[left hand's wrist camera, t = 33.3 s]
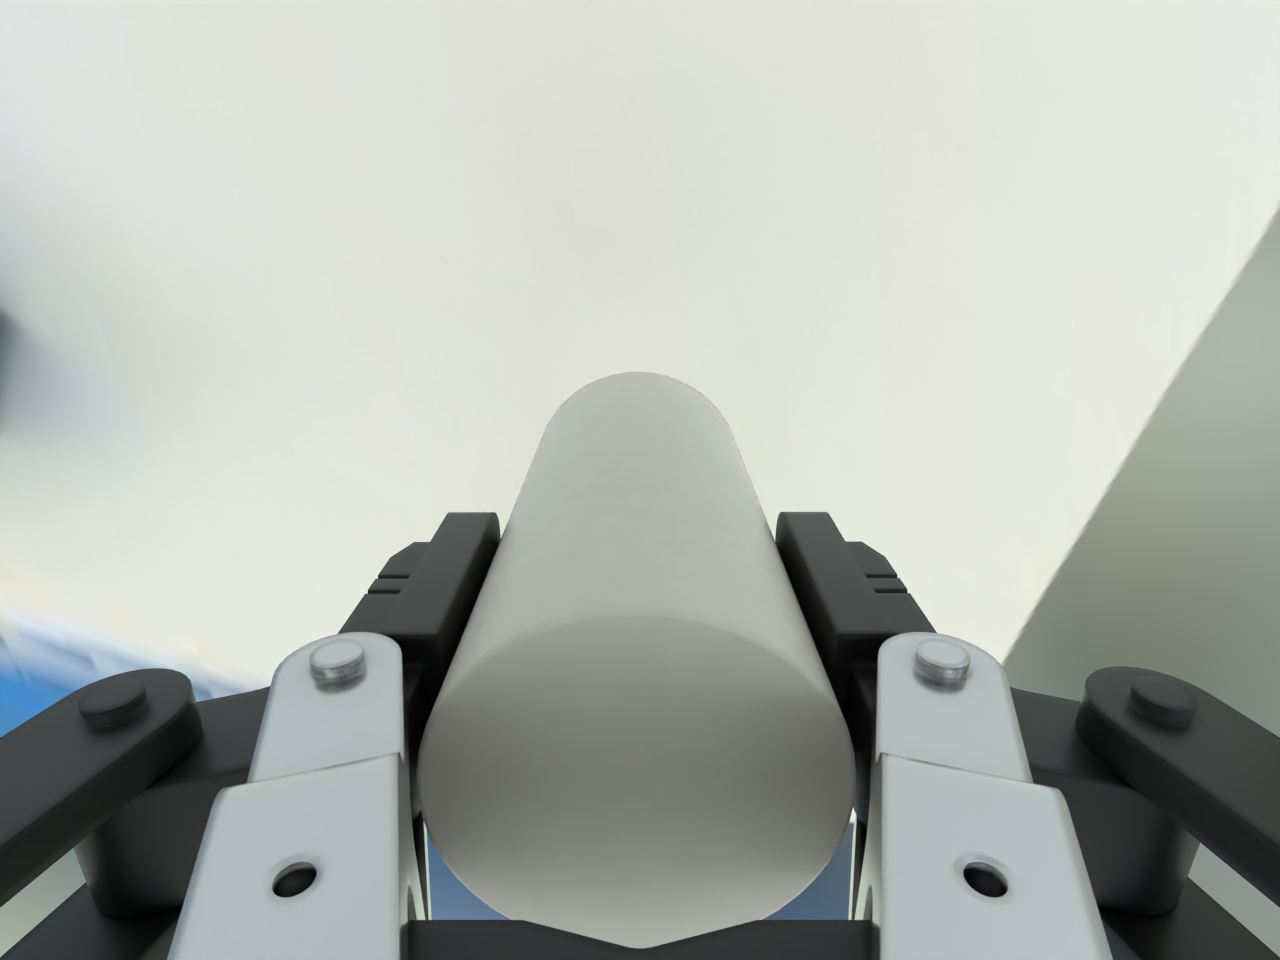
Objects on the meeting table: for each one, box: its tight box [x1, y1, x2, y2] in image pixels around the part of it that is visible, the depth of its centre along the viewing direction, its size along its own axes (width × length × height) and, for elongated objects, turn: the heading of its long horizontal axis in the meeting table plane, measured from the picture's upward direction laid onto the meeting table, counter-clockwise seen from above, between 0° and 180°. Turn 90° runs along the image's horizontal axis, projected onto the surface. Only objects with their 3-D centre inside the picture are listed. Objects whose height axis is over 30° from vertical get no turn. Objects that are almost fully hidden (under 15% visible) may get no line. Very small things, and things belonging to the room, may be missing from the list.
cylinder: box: [416, 372, 857, 948], centre depth 12 cm, size 4×4×10 cm
